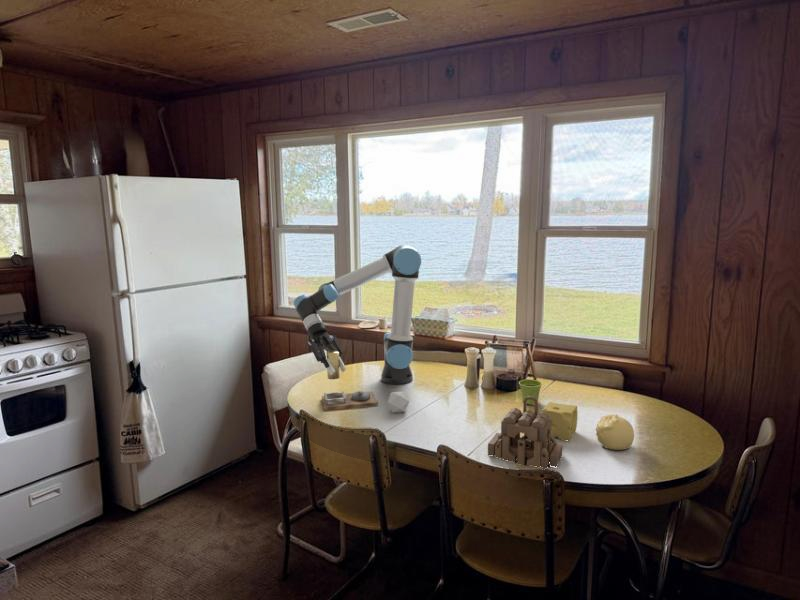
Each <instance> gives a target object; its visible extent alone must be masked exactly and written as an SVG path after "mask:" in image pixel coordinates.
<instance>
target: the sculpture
mask: <svg viewBox="0 0 800 600" xmlns="http://www.w3.org/2000/svg"><path fill="white" fill-rule="evenodd" d="M595 432H596V433H595V435H596V436H597V440H598V442H599V443H600V444H601V445H602V446H603V447H605V449H608V448H609V449H608V450H614V451H615V450H616V451H617V450H619V451H621V450H628V449H629V448H630V447H631V446H632V444H633V443H634V439H635V430H634V427H633V425H632V424H631V422H630V421H629V420H627V419H626V418H624V417H621V416H619V415H618V414H617V413H616V414H607V415H603V416H601V417H600V420H598V422H597V424H596V427H595Z"/></svg>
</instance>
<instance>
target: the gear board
mask: <svg viewBox="0 0 800 600" xmlns="http://www.w3.org/2000/svg"><path fill="white" fill-rule="evenodd" d="M321 399H322V405H323V410H324V411H327V412H328V411H339V410H346V409H348V410H349V409H356V408H368V407H377V406H379V402H378V401H377V398H376V396H375V394H374V393H373V391H372V390H371V391H363V390H360V391H359V390H358V391H355V392H350V393H345V391H337V392H336V391H334V392H324V393H323V395H321Z"/></svg>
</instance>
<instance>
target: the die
mask: <svg viewBox="0 0 800 600" xmlns="http://www.w3.org/2000/svg"><path fill="white" fill-rule="evenodd" d="M386 403H387V404H386V405H387V406H388V407H389V409H390V411H391V412H392V413H393V414H396V413H397V414H398V413H405V412H406V411H407V408H408V406H409V403H410V400H409V398H408V397H407V395H406V393H405V392H404V391H392V392H390V394H389V396H388V400H387V402H386Z"/></svg>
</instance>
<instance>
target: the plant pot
mask: <svg viewBox="0 0 800 600" xmlns="http://www.w3.org/2000/svg"><path fill="white" fill-rule="evenodd" d="M518 385H519V387H520V394H521V400H522V404H524V399H525V398H526V397H528V396H531V397H534V398H536V399H537V401H538V402H539V396H540V391H541V387H542V386H543V383H542V381H540V380H537V379H536V380H535V379H522V380H519V382H518ZM527 404H528V405H530V406H532V405H531V404H535V402H534V401H533V400H527Z"/></svg>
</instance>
